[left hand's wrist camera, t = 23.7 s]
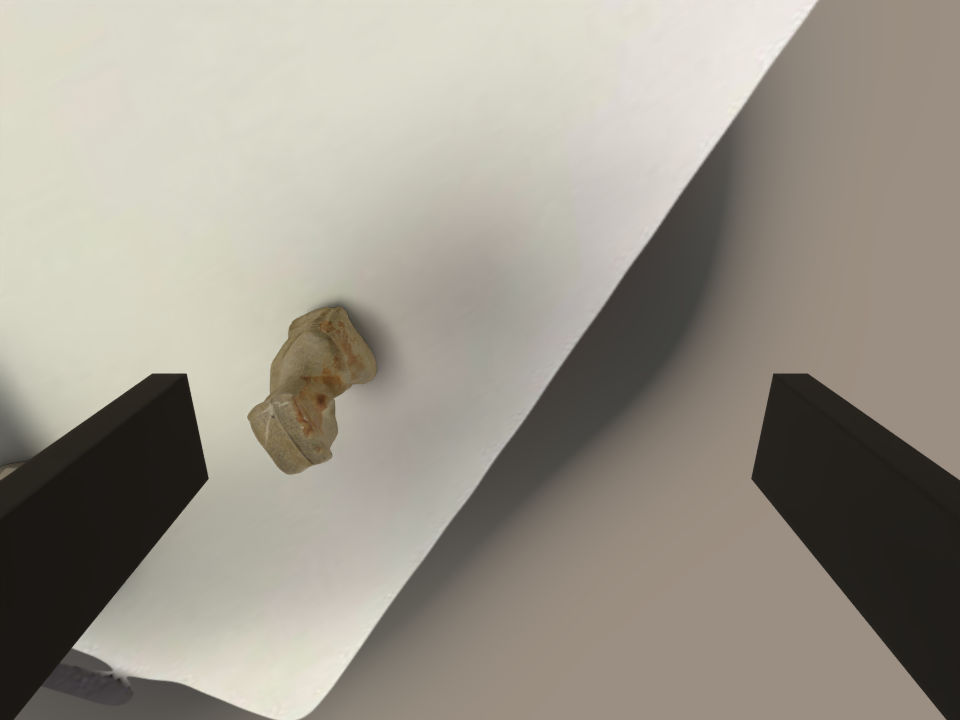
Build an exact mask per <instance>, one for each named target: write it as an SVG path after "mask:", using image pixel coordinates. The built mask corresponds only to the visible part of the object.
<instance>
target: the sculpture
mask: <svg viewBox="0 0 960 720" xmlns="http://www.w3.org/2000/svg"><path fill="white" fill-rule="evenodd" d="M376 372H377V366H376V361H375V358H374V356H373V354H372V352H371V350H370V349H369V347H368V346H367V344H366V343H365V341H364V340H363V339H362V337H361V336H360V334H359V333H358V332H357V331H356V329H355V328H354V327H353V325H352V324H351V322H350V320H349V318H348V314H347V312H346V311H345V310H344V309H343V308H342V307H336V308H329V307H325V308H321V309H318V310H315V311H312V312H310V313H307V314H305V315H303V316H301V317H299V318H297V319H295V320H294V321H293V322H292V324H291V325H290V327H289V332H288V340H287V341H286V342H285V343H284V345H283V346H282V348H281V349H280V351H279V352H278V354H277V355H276V357H275V359H274V360H273V362H272V364H271V370H270V395H269V396H268V397H267V398H266V400H265V401H264V402H262V403H260V404H258V405H256V406H255V407H254V408H253V409H252V410H251V411H250V413H249V414H248V420H249V421H250V424H251V428H252V430H253V432H254V434H255V436H256V438H257V439H258V441H259V442H260V444H261V445H262V446H263V448H264V449H265V450H266V451H267V453H268V454H269V455H270V457H271V458H272V460H273V461H274V462H275V464H276V465H277V467H278V468H279V469H280V470H282V471H283V472H284V473H286V474H289V475H290V474H297V473H300V472H302V471H304V470H305V469H307V468H308V467H310V466H312V465H316V464H320V463H323V462H327V461H328V460H330V459H331V458H332V453H331V450H330V447H331V445H332V443H333V441H334V440H335V438H336V436H337V434H338V427H337V422H336V418H335V400H334V399H333V398H335V397H337V396H339V395H341V394H342V393H343V392H345V391H346V390H347V389H349V388H350V387H351V386H352V384H364V383H367V382H369V381H371V380H372V379H373V378H374V377H375V375H376Z"/></svg>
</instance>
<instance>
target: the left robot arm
mask: <svg viewBox="0 0 960 720" xmlns="http://www.w3.org/2000/svg"><path fill="white" fill-rule="evenodd" d="M208 479H209V478H208V473H207V468H206V464H205V459H204V454H203V449H202V445H201V440H200V435H199V430H198V426H197V421H196V416H195V411H194V407H193V402H192V397H191V392H190V388H189V383H188V378H187V374H151V375H150V376H148V377H147V378H145V379H144V380H143V381H141V382H140V383H138V384H137V385H135V386H134V387H133V388H131V389H130V390H128V391H127V392H125V393H124V394H123V395H121V396H120V397H118V398H117V399H115V400H114V401H113V402H111V403H110V404H108V405H107V406H105V407H104V408H103V409H101V410H100V411H98V412H97V413H95V414H94V415H93V416H91V417H90V418H88V419H87V420H86V421H84V422H83V423H81V424H80V425H78V426H77V427H76V428H74V429H73V430H71V431H70V432H68V433H67V434H66V435H64V436H63V437H61V438H60V439H58V440H57V441H56V442H54V443H53V444H51V445H50V446H48V447H47V448H46V449H44V450H43V451H41V452H40V453H39V454H37V455H36V456H34V457H33V458H31V459H30V460H29V461H27V462H18V463H12V464H8V465H5V466H2V467H0V720H14V718H15V717H16V716H17V715H18V714H19V712H20V711H21V710H22V709H23V707H24V706H25V705H26V704H27V702H28V701H29V700H30V699H31V698H32V696H33V695H34V694H35V693H36V691H37V690H38V689H39V688H40V686H41V685H42V684H43V683H44V681H45V680H46V679H47V678H48V677H49V675H50V674H51V673H52V672H53V670H54V669H55V668H56V667H57V665H58V664H59V663H60V662H61V660H62V659H63V658H64V657H65V656H66V654H67V653H68V652H69V651H70V649H71V648H72V647H73V646H74V644H75V643H76V642H77V641H78V639H79V638H80V637H81V636H82V635H83V633H84V632H85V631H86V630H87V628H88V627H89V626H90V625H91V623H92V622H93V621H94V620H95V618H96V617H97V616H98V615H99V614H100V612H101V611H102V610H103V609H104V607H105V606H106V605H107V604H108V602H109V601H110V600H111V599H112V597H113V596H114V595H115V594H116V593H117V591H118V590H119V589H120V588H121V586H122V585H123V584H124V583H125V581H126V580H127V579H128V578H129V576H130V575H131V574H132V573H133V572H134V570H135V569H136V568H137V567H138V565H139V564H140V563H141V562H142V560H143V559H144V558H145V557H146V555H147V554H148V553H149V552H150V551H151V549H152V548H153V547H154V546H155V544H156V543H157V542H158V541H159V539H160V538H161V537H162V536H163V534H164V533H165V532H166V531H167V530H168V528H169V527H170V526H171V525H172V523H173V522H174V521H175V520H176V518H177V517H178V516H179V515H180V514H181V512H182V511H183V510H184V509H185V507H186V506H187V505H188V504H189V502H190V501H191V500H192V499H193V497H194V496H195V495H196V494H197V493H198V491H199V490H200V489H201V488H202V486H203V485H204V484H205V483H206V481H207V480H208ZM751 479H752V480H753V481H754V483H755V484H756V485H757V486H758V488H759V489H760V490H761V491H762V492H763V494H764V495H765V496H766V497H767V499H768V500H769V501H770V502H771V503H772V505H773V506H774V507H775V509H776V510H777V511H778V512H779V514H780V515H781V516H782V517H783V518H784V520H785V521H786V522H787V523H788V525H789V526H790V527H791V528H792V530H793V531H794V532H795V533H796V534H797V536H798V537H799V538H800V539H801V541H802V542H803V543H804V544H805V546H806V547H807V548H808V549H809V551H810V552H811V553H812V554H813V555H814V557H815V558H816V559H817V560H818V562H819V563H820V564H821V565H822V567H823V568H824V569H825V570H826V572H827V573H828V574H829V575H830V576H831V578H832V579H833V580H834V581H835V583H836V584H837V585H838V586H839V588H840V589H841V590H842V591H843V593H844V594H845V595H846V596H847V597H848V599H849V600H850V601H851V602H852V604H853V605H854V606H855V607H856V609H857V610H858V611H859V612H860V614H861V615H862V616H863V617H864V618H865V620H866V621H867V622H868V623H869V625H870V626H871V627H872V628H873V630H874V631H875V632H876V633H877V634H878V636H879V637H880V638H881V639H882V641H883V642H884V643H885V644H886V646H887V647H888V648H889V649H890V651H891V652H892V653H893V654H894V655H895V657H896V658H897V659H898V660H899V662H900V663H901V664H902V665H903V667H904V668H905V669H906V670H907V672H908V673H909V674H910V675H911V677H912V678H913V679H914V680H915V681H916V683H917V684H918V685H919V686H920V688H921V689H922V690H923V691H924V692H925V694H926V695H927V696H928V697H929V699H930V700H931V701H932V702H933V704H934V705H935V706H936V707H937V709H938V710H939V711H940V712H941V714H942V715H943V716H944V717H945V719H946V720H960V480H958V479H957V478H956V477H954V476H953V475H951V474H950V473H949V472H947V471H946V470H944V469H943V468H941V467H940V466H939V465H937V464H936V463H934V462H933V461H931V460H930V459H929V458H927V457H926V456H924V455H923V454H921V453H920V452H919V451H917V450H916V449H914V448H913V447H912V446H910V445H909V444H907V443H906V442H904V441H903V440H902V439H900V438H899V437H897V436H896V435H894V434H893V433H892V432H890V431H889V430H887V429H886V428H884V427H883V426H882V425H880V424H879V423H877V422H876V421H874V420H873V419H872V418H870V417H869V416H867V415H866V414H865V413H863V412H862V411H860V410H859V409H857V408H856V407H855V406H853V405H852V404H850V403H849V402H847V401H846V400H845V399H843V398H842V397H840V396H839V395H837V394H836V393H835V392H833V391H832V390H830V389H829V388H827V387H826V386H825V385H823V384H822V383H820V382H819V381H817V380H816V379H815V378H813V377H812V376H810V375H809V374H773V378H772V383H771V388H770V392H769V397H768V402H767V407H766V411H765V416H764V421H763V426H762V430H761V435H760V440H759V445H758V449H757V454H756V459H755V464H754V468H753V473H752V478H751Z"/></svg>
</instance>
